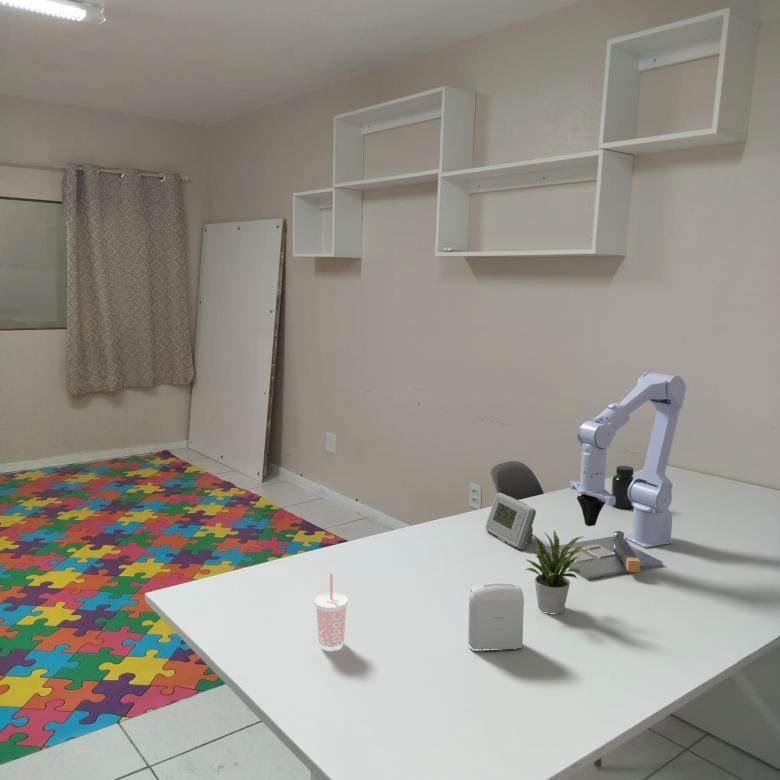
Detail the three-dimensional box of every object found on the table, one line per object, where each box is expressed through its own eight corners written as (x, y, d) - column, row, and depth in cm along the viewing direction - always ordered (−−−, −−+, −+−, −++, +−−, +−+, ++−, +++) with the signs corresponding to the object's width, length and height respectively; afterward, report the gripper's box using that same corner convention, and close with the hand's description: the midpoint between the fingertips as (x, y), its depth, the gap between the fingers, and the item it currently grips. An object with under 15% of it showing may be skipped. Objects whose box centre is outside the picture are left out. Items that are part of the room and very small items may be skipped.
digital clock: (482, 530, 193) (484, 492, 191) (513, 527, 195) (515, 490, 194) (507, 552, 178) (508, 511, 176) (540, 549, 180) (542, 509, 178)
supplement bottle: (605, 504, 216) (608, 465, 214) (623, 501, 219) (625, 463, 217) (621, 511, 210) (624, 471, 208) (639, 508, 212) (642, 469, 211)
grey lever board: (611, 540, 186) (612, 521, 186) (662, 565, 170) (663, 545, 169) (541, 552, 178) (542, 533, 177) (588, 580, 162) (589, 559, 161)
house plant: (600, 604, 150) (605, 530, 147) (582, 632, 138) (587, 552, 135) (535, 588, 157) (538, 518, 154) (512, 614, 145) (515, 537, 143)
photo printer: (470, 653, 130) (472, 590, 128) (465, 642, 134) (467, 580, 132) (525, 651, 131) (528, 588, 129) (518, 639, 135) (521, 578, 133)
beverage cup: (318, 655, 129) (317, 582, 126) (312, 639, 134) (311, 569, 132) (351, 651, 130) (351, 579, 128) (343, 635, 136) (344, 565, 134)
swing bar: (614, 548, 176) (615, 538, 176) (625, 548, 176) (625, 538, 176) (627, 571, 162) (628, 560, 162) (639, 572, 162) (640, 561, 162)
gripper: (560, 465, 177) (558, 517, 179) (599, 481, 163) (596, 537, 166) (584, 462, 179) (581, 514, 182) (623, 477, 166) (620, 533, 168)
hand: (590, 525), depth 174 cm, fingers closed
